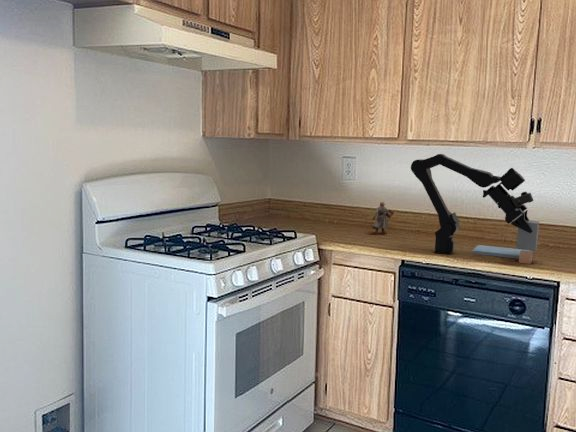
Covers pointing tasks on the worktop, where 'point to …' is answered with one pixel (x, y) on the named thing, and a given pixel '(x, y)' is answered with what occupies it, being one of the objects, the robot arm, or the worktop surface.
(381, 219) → the figurine
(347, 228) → the worktop surface
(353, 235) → the worktop surface
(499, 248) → the board
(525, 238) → the tall gray block
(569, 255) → the worktop surface
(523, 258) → the exposed block
